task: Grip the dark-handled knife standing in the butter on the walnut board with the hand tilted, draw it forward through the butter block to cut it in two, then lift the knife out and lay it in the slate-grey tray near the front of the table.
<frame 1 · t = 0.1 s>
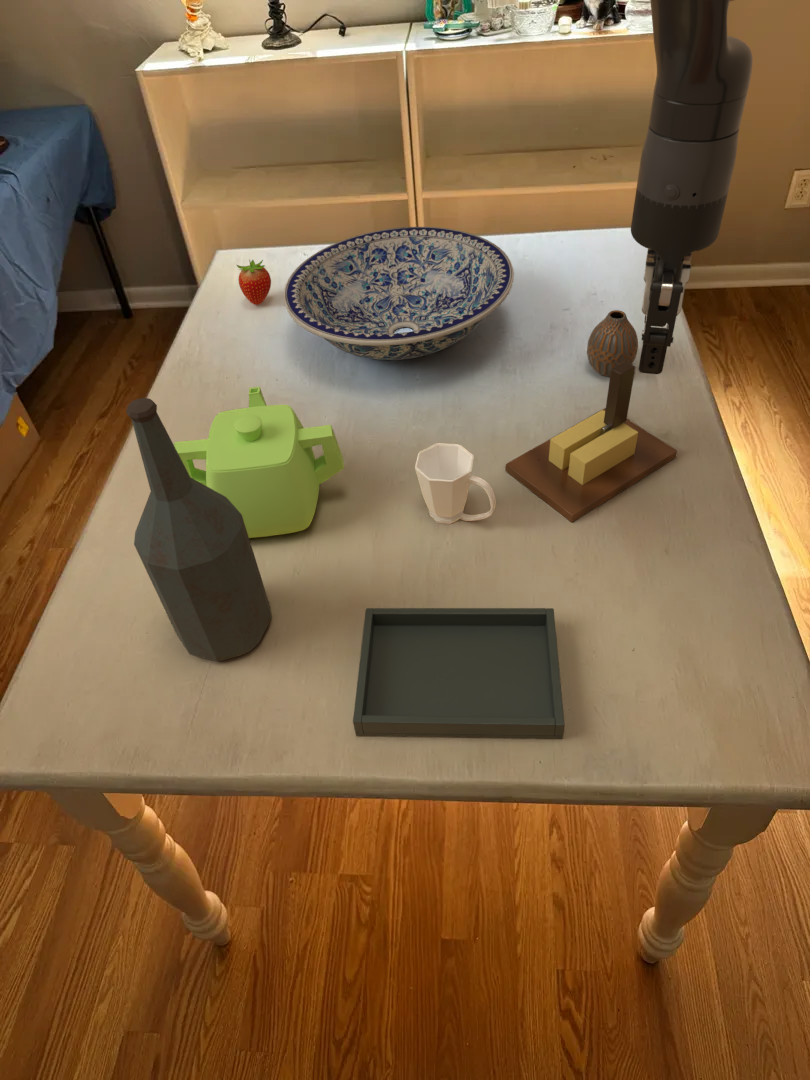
hand: (652, 347, 78), 22 cm above the table, tool pointing down, fingers open, 8 cm apart
bottle: (226, 627, 86), on the table
vase: (609, 369, 113), on the table
fruit: (259, 305, 133), on the table
butter 2: (601, 464, 98), point 1 cm above the table, touching board
tray: (458, 676, 79), on the table
board: (590, 464, 99), on the table
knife: (611, 445, 100), point 1 cm above the table, touching board
teapot: (270, 494, 100), on the table
butter 1: (581, 450, 100), point 1 cm above the table, touching board
cup: (457, 516, 95), on the table
ceramic bowl: (402, 335, 123), on the table
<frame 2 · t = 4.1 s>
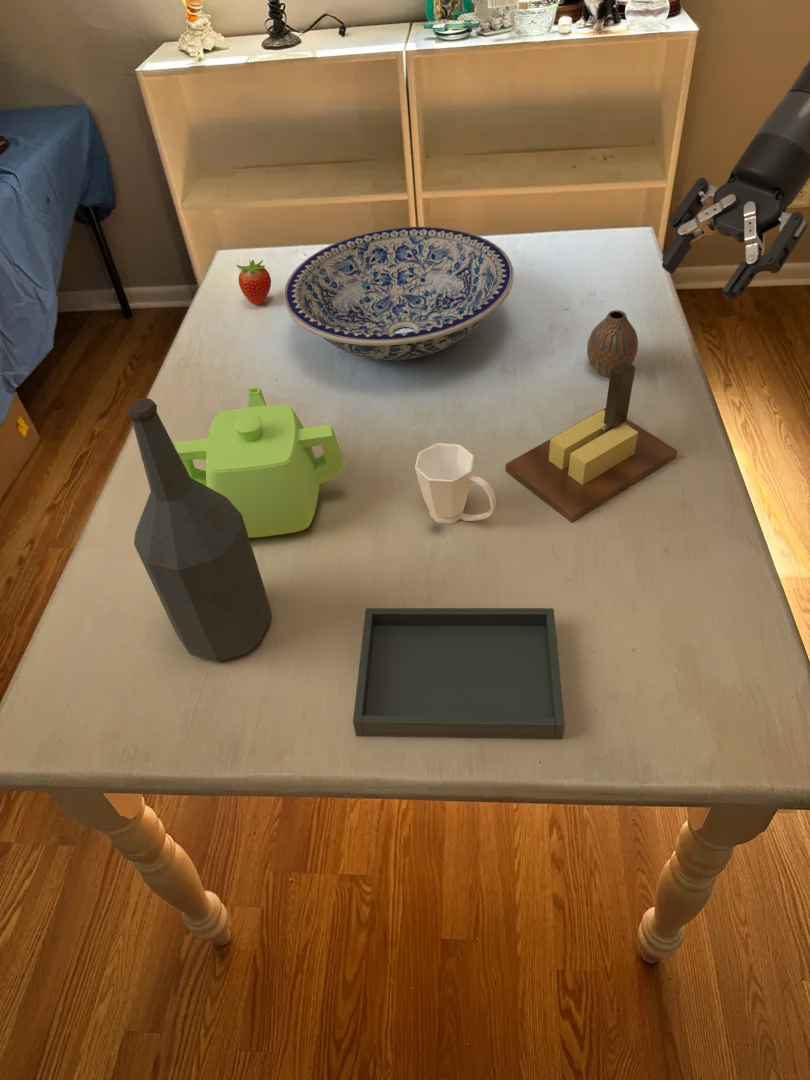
hand: (695, 283, 90), 20 cm above the table, tool tilted 45°, fingers open, 8 cm apart
nothing on the table moved.
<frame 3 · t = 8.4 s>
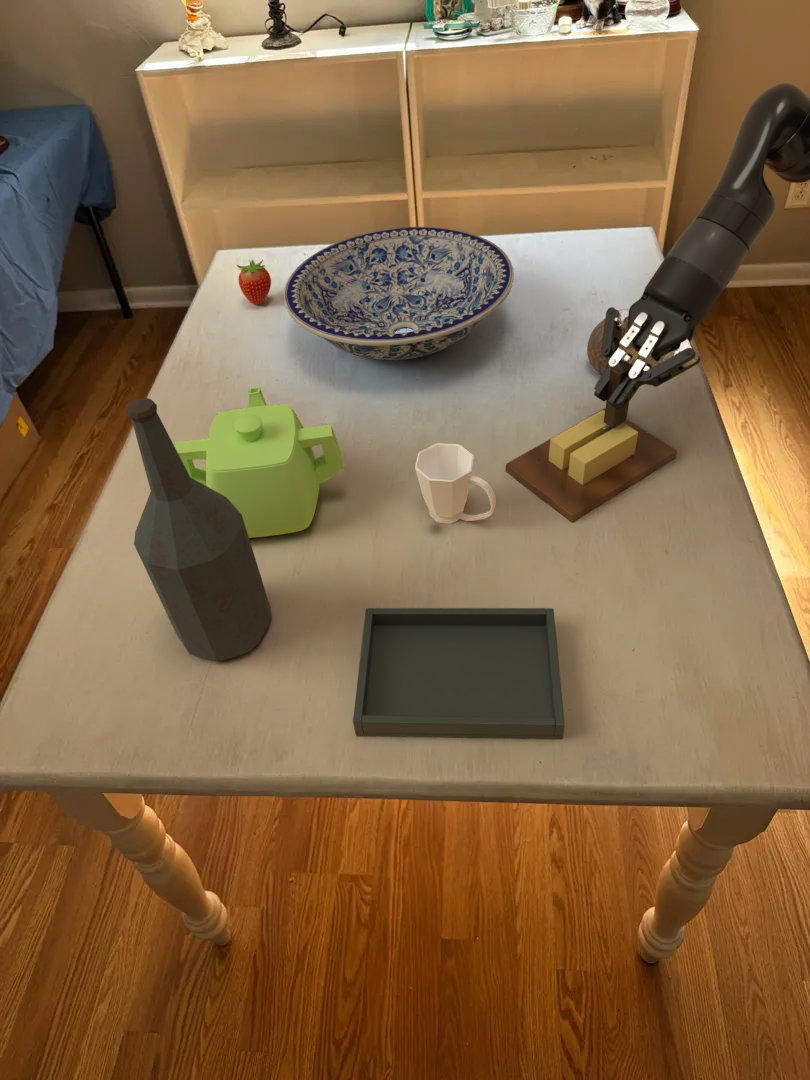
hand: (605, 402, 93), 9 cm above the table, tool tilted 45°, fingers closed on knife, 1 cm apart
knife: (611, 444, 100), point 1 cm above the table, touching board, gripper
everything else where it was.
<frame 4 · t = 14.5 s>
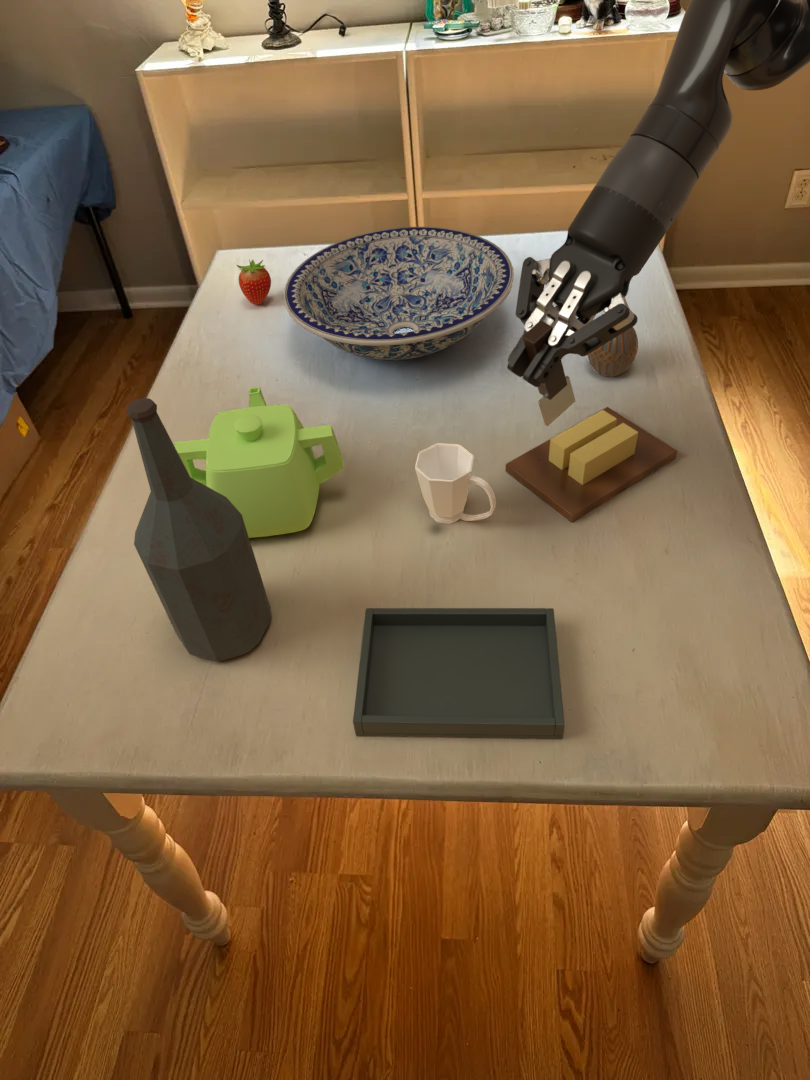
hand: (521, 377, 73), 24 cm above the table, tool tilted 45°, fingers closed on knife
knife: (560, 413, 80), point 17 cm above the table, tilted 19°, touching gripper
everything else where it was.
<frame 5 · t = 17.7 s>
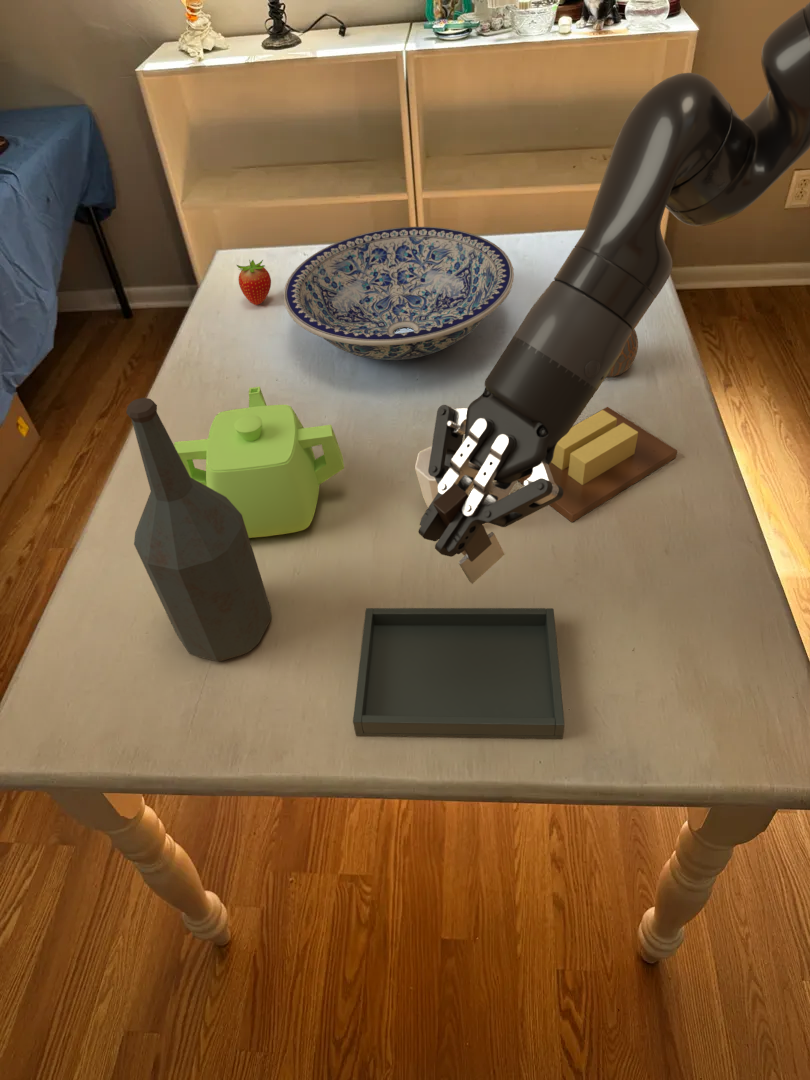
hand: (435, 544, 64), 21 cm above the table, tool tilted 45°, fingers closed on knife
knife: (487, 568, 71), point 14 cm above the table, tilted 19°, touching gripper
everything else where it was.
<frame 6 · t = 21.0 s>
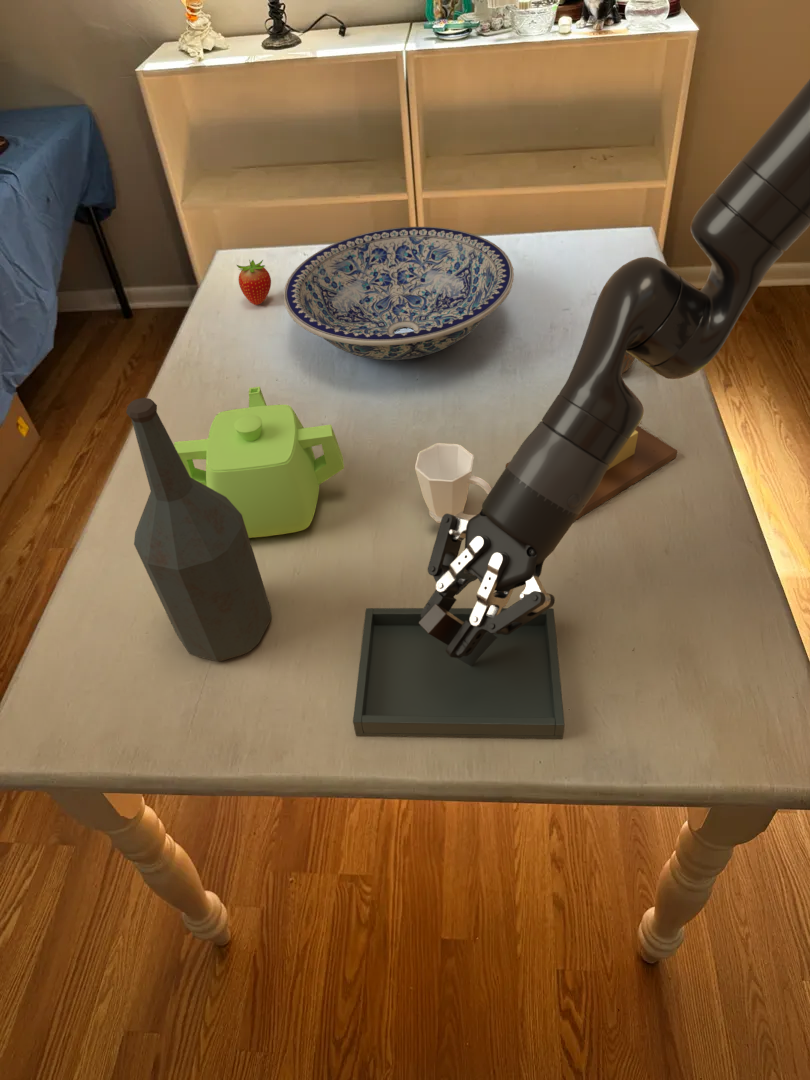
hand: (439, 640, 73), 8 cm above the table, tool tilted 45°, fingers open, 3 cm apart
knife: (483, 650, 79), point 2 cm above the table, tilted 30°, touching tray
everything else where it was.
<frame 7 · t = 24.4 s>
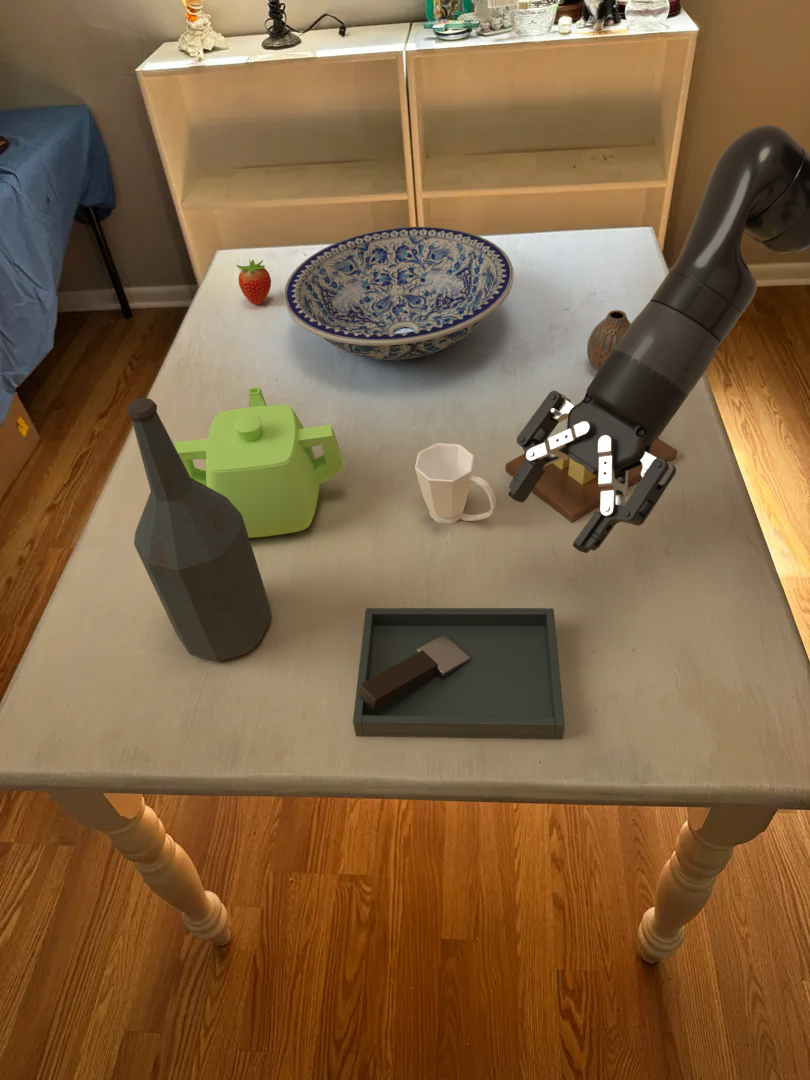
hand: (546, 523, 72), 15 cm above the table, tool tilted 45°, fingers open, 8 cm apart
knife: (456, 647, 81), point 1 cm above the table, tilted 76°, touching tray
everything else where it was.
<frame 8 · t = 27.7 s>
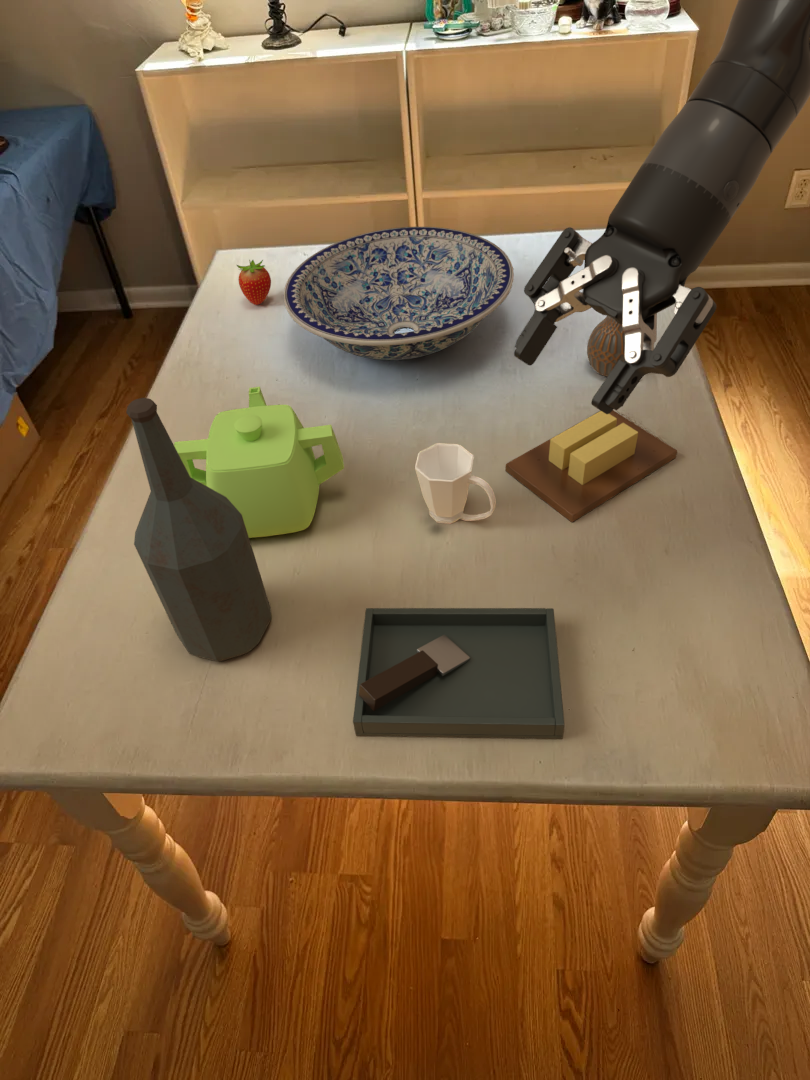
hand: (558, 384, 61), 31 cm above the table, tool tilted 45°, fingers open, 8 cm apart
nothing on the table moved.
at the end: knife inside the target area on the tray (3.1 cm from its centre), point 0.8 cm above the tray's base; butter 2 moved 0.0 cm from its start; butter 1 moved 0.0 cm from its start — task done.
